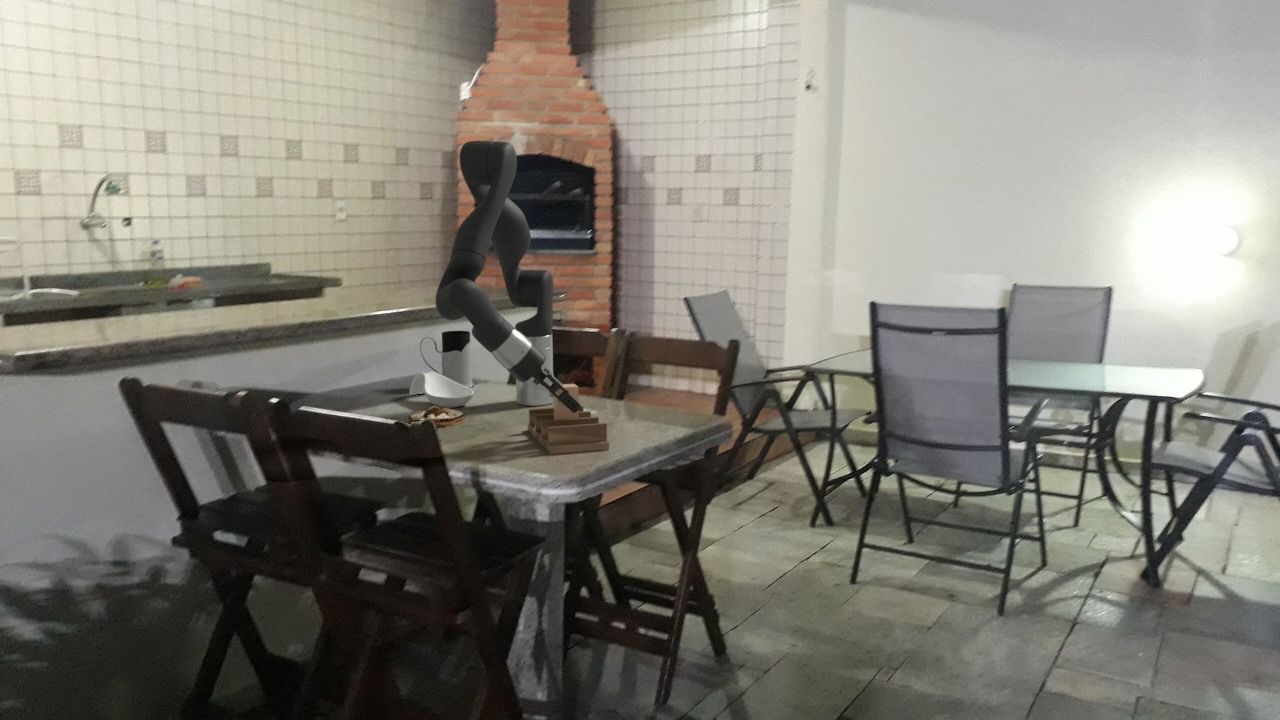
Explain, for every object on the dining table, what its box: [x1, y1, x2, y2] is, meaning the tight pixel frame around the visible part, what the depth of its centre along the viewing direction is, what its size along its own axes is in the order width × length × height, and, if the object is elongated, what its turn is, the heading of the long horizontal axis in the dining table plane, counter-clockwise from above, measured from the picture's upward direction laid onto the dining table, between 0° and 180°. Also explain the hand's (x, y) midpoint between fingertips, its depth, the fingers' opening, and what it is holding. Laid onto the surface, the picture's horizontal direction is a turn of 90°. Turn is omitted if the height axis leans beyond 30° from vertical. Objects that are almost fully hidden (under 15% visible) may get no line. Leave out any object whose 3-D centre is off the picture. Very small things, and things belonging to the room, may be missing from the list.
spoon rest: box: [409, 371, 475, 408], centre depth 237 cm, size 24×12×7 cm, turn 41°
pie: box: [408, 405, 466, 429], centre depth 215 cm, size 15×15×4 cm
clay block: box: [553, 383, 580, 420], centre depth 197 cm, size 4×4×10 cm
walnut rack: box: [527, 405, 610, 455], centre depth 198 cm, size 22×12×5 cm, turn 19°
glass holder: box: [419, 330, 474, 388], centre depth 256 cm, size 9×14×15 cm, turn 91°
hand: (572, 405), depth 197 cm, fingers open, 8 cm apart
